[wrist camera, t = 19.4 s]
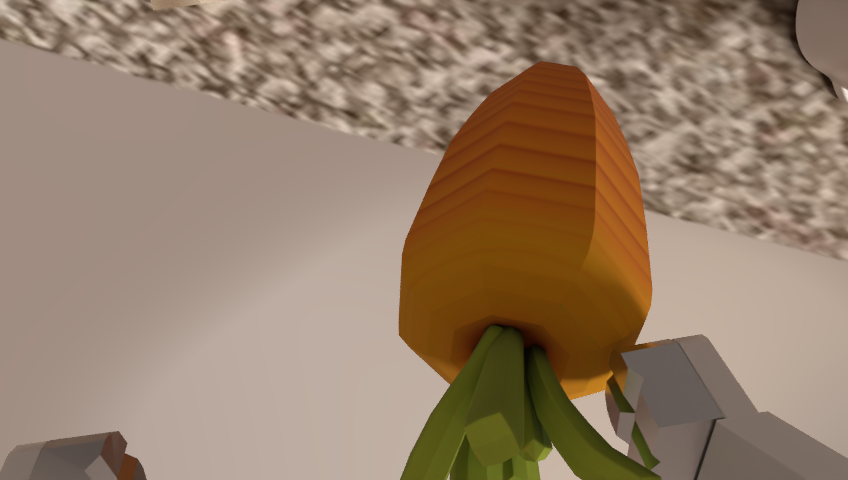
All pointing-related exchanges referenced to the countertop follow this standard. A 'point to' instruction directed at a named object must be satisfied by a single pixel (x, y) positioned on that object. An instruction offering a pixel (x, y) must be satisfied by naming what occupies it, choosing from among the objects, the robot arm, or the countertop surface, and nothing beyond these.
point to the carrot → (526, 282)
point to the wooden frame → (178, 3)
